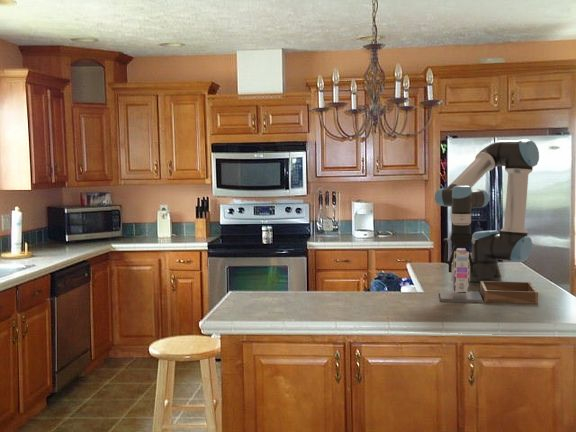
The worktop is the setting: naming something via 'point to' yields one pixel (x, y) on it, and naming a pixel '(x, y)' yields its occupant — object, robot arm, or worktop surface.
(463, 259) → the candy box
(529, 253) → the robot arm
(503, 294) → the crate
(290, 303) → the worktop surface
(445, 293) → the plate
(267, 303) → the worktop surface
